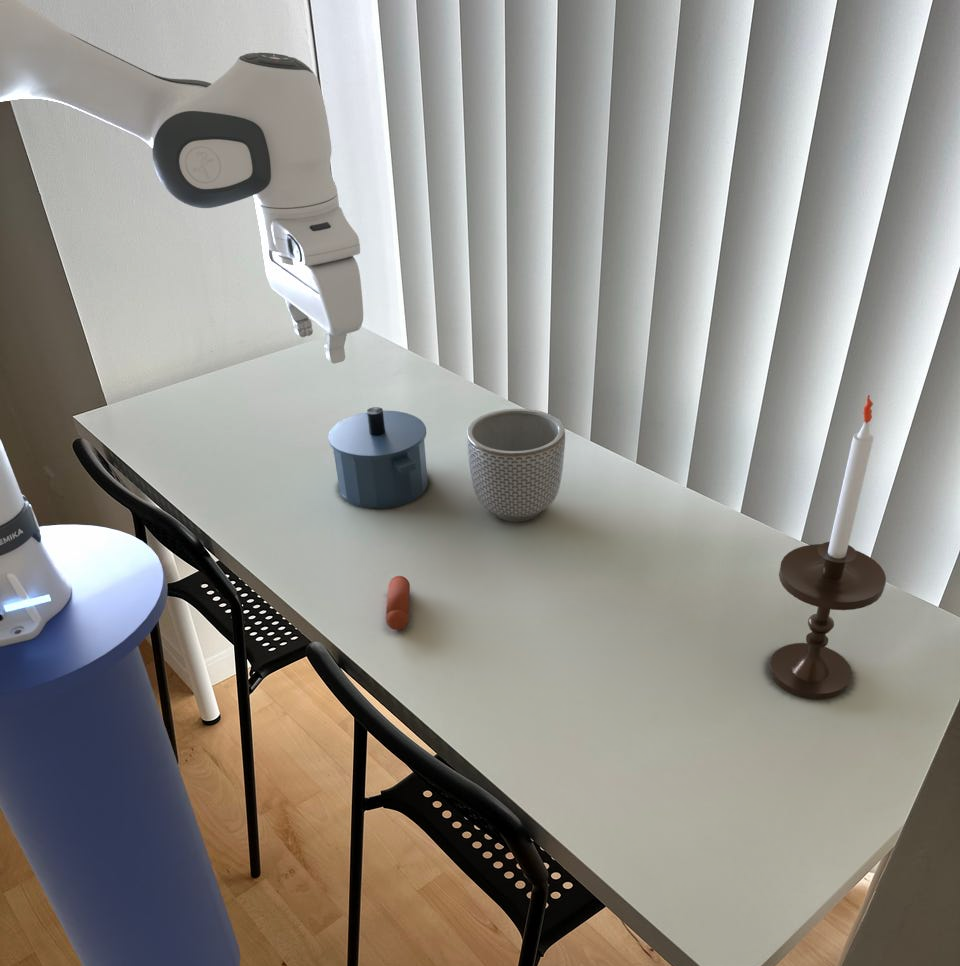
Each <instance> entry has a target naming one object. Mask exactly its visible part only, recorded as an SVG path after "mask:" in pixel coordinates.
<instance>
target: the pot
mask: <svg viewBox="0 0 960 966" xmlns="http://www.w3.org/2000/svg"><path fill="white" fill-rule="evenodd" d="M425 444H426V443H425V440H424V441H423V442H422V443H421V444H420V445H419V446H417V447H416V448H415V449H413V450H411V451H409V452H407V453H404V454H401V455H398V456H394V457H390V458H383V459H357V458H352V457H348V456H345V455H342V454H340V453H338V452H336V451H335V450H334V449H333V448H332V450H333V457H334V462H335V470H336V476H337V482H338V483H337V484H338V488H339V493H340V495H341V497H342V498H343V499H344V500H345V501H346V502H348V503H349V504H351V505H354V506H357V507H360V508H366V509H389V508H394V507H398V506H399V507H400V506H402V505H405V504H408V503H410V502H413V501H414V500H416V499H418V498H419V497H420V496H422V495H423V493H424V492H425V491H426V489H427V487H428V481H429V480H428V470H427V469H428V468H427V455H426V445H425Z"/></svg>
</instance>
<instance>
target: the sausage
mask: <svg viewBox="0 0 960 966" xmlns="http://www.w3.org/2000/svg"><path fill="white" fill-rule="evenodd" d="M410 591H411V584H410V581H409V580H408V579H407V578H406V577H405V576H402V575H396V576H393V577H392V578H390V580H389V582H388V586H387V600H386V601H387V603H386V612H385V613H386V615H385V622H386V625H387V626H388V627H389V628H390V629H391V630H394V631H400V630H403V629H404V628H405V627H407V625H408V624H409V615H410V613H409V612H410V593H411V592H410Z"/></svg>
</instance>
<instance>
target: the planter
mask: <svg viewBox="0 0 960 966" xmlns="http://www.w3.org/2000/svg"><path fill="white" fill-rule="evenodd" d="M465 440H466V441H465V442H466V449H467V457H468V467H469V472H470V477H471V482H472V488H473V491H474V494H475V496H476V498H477V501H478V502H479V503H480V504H481V505H482V506H483V507H484V508H485V509H487V510H488V511H490V512H491V513H493V514H494V515H495V516H496V517H497V518H499V519H501V520H503V521H507V522H510V523H511V522H512V523H519V522H526V521H530V520H533V519H535V518H536V517H537V516H539V514H540V513H541V512H542V511H545V509H547V508H548V507H550V506H551V505H552V503H554V501H555V500H556V498H557V496H558V494H559V490H560V488H561V483H562V477H563V470H564V469H563V468H564V462H565V461H564V460H565V449H566V430H565V427H564V423H562V422H561V420H560V419H558V418H557V417H555V416H554V415H552V414H550V413H547V412H544V411H541V410H537V409H530V408H505V409H500V410H499V409H498V410H495V411H490V412H488V413H485V414H483V415H481V416H479V417H477V418H475V419H474V420H473V421H472V422H471V423H470V424H469V426H468V427H467V429H466V438H465Z"/></svg>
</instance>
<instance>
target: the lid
mask: <svg viewBox="0 0 960 966" xmlns="http://www.w3.org/2000/svg"><path fill="white" fill-rule="evenodd" d="M426 437H427V426H426V425H425V422H423V421H422V420H421V419H420V418H419V417H417V416H416V415H413V414H410V413H407V412H404V411H398V410H384V409H383V408H382V407H379V406H373V407H369V408H368V409H367V410H366V411H365V412H361V413H357V414H354V415H350V416H348V417H346V418H343V419H342V420H341V421H339V422H337V423H336V424H335V425H333V427H332V428H330V430H329V433H328V443H329V446H330V448H331V449H332V450H333V449H334V450H335V451H336V452H338V453H340V454H342V455H345V456H348V457H352V458H357V459H383V458H390V457H394V456H398V455H401V454H404V453H407V452H409V451H411V450H413V449H415V448H416V447H417V446H419V445H420V444H421V443H422V442H423V441H424V442H425V440H426ZM334 450H333V451H334Z"/></svg>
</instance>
